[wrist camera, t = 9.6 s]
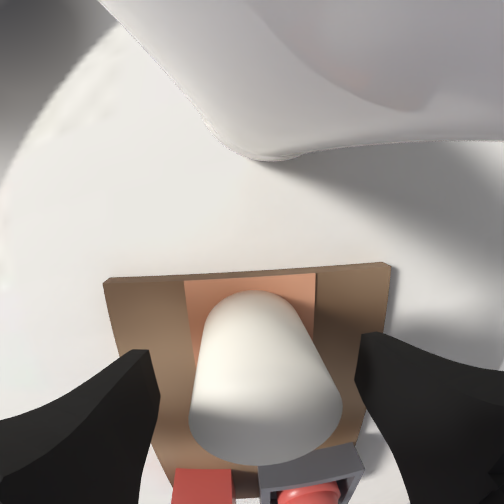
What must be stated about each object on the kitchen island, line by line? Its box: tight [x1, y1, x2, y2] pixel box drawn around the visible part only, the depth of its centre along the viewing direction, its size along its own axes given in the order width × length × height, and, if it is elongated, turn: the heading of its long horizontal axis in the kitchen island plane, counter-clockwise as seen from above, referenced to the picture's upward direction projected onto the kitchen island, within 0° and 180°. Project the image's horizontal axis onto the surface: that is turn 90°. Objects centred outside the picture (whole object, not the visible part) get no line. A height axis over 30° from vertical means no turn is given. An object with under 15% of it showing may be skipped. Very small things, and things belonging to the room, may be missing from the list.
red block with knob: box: [171, 468, 236, 504], centre depth 12 cm, size 3×3×4 cm
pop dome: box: [276, 481, 341, 504], centre depth 11 cm, size 4×4×3 cm
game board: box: [103, 262, 391, 499], centre depth 13 cm, size 17×12×1 cm
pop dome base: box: [257, 442, 365, 504], centre depth 13 cm, size 6×6×2 cm
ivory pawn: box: [188, 290, 343, 466], centre depth 9 cm, size 4×4×5 cm
